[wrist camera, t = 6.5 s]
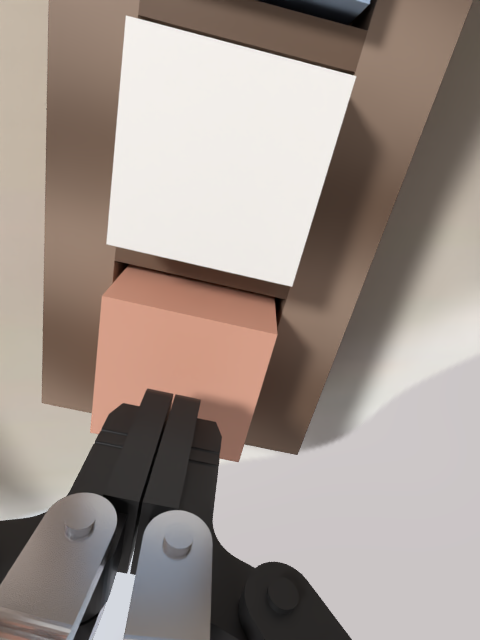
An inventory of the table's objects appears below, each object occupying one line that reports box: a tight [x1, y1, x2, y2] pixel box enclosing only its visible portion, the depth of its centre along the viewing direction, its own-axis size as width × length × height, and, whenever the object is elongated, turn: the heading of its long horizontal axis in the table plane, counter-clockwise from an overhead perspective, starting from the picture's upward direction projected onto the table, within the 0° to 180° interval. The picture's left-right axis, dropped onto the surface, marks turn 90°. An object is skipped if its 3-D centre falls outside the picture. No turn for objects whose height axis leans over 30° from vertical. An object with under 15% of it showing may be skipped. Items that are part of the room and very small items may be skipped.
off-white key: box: [106, 16, 356, 287], centre depth 11 cm, size 5×5×3 cm
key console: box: [42, 0, 473, 455], centre depth 14 cm, size 20×10×4 cm, turn 167°
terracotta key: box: [90, 264, 278, 462], centre depth 14 cm, size 5×5×3 cm
